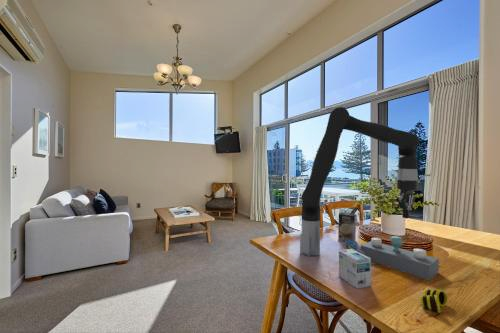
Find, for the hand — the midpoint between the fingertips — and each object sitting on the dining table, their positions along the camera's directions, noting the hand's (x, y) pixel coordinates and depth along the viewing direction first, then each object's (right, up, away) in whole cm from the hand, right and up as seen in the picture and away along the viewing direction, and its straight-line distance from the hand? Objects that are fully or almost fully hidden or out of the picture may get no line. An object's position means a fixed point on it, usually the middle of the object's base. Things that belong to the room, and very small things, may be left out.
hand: (405, 217), depth 104 cm
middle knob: (-3, -17, +3) cm, 17 cm away
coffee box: (-11, -22, +36) cm, 43 cm away
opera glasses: (-10, -23, -28) cm, 38 cm away
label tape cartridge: (-23, -22, -1) cm, 32 cm away
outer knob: (+3, -20, -5) cm, 21 cm away
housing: (-3, -22, +3) cm, 22 cm away
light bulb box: (-29, -22, -12) cm, 38 cm away
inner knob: (-8, -20, +10) cm, 24 cm away
